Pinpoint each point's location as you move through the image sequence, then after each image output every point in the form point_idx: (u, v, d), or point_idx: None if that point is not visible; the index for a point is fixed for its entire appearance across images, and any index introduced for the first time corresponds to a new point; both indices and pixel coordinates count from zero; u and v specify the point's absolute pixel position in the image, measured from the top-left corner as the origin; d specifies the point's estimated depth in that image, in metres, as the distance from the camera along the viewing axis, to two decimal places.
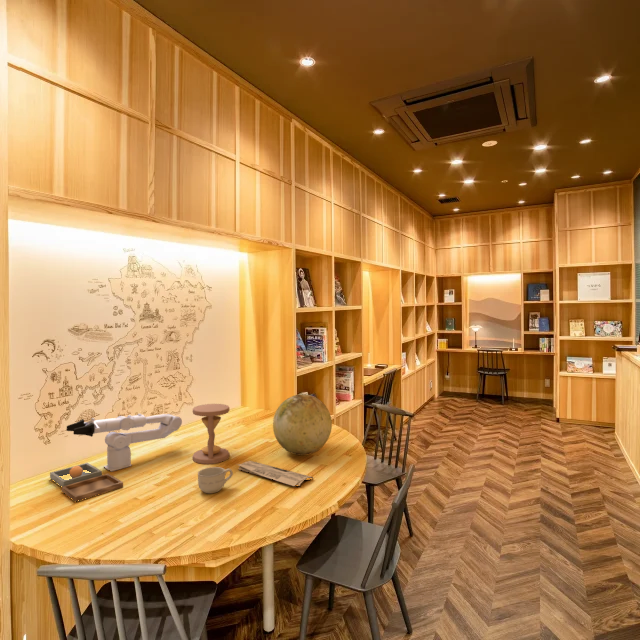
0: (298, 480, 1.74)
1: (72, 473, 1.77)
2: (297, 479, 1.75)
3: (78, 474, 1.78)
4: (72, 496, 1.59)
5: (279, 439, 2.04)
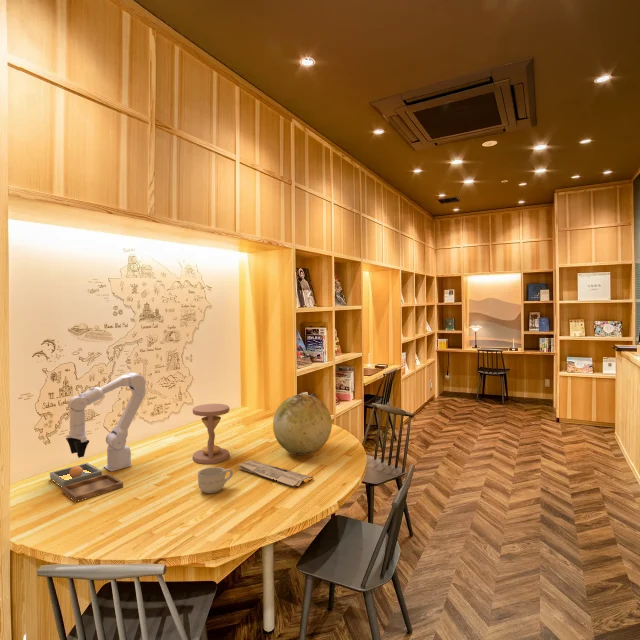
0: (298, 480, 1.74)
1: (72, 473, 1.77)
2: (297, 479, 1.75)
3: (78, 474, 1.78)
4: (72, 496, 1.59)
5: (279, 439, 2.04)
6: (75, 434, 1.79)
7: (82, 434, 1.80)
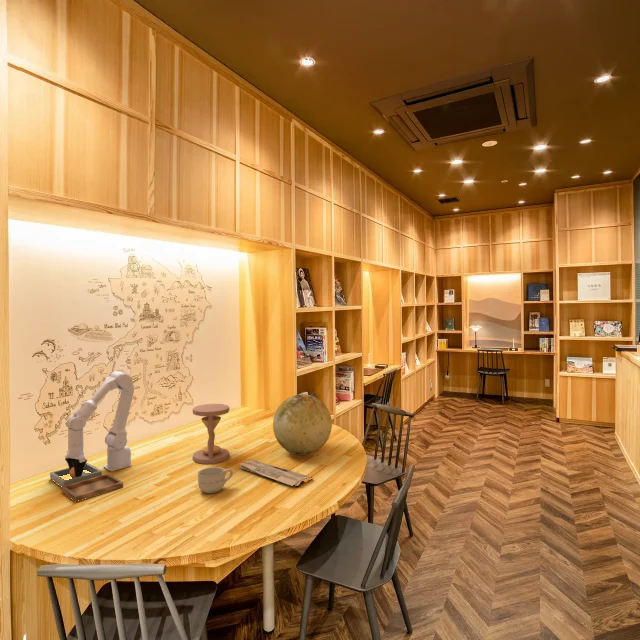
0: (297, 480, 1.74)
1: (72, 473, 1.77)
2: (296, 479, 1.75)
3: None
4: (72, 496, 1.59)
5: (279, 439, 2.04)
6: (73, 454, 1.76)
7: (81, 454, 1.78)
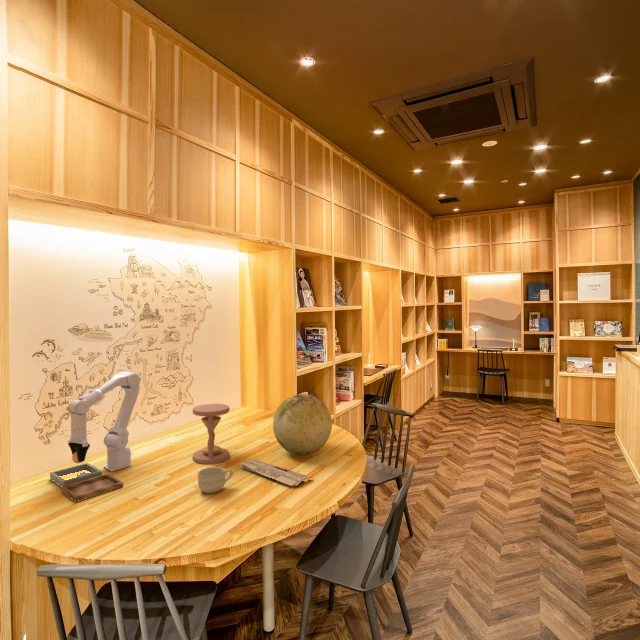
0: (296, 480, 1.74)
1: (75, 458, 1.75)
2: (296, 479, 1.75)
3: None
4: (72, 496, 1.59)
5: (279, 439, 2.04)
6: (76, 439, 1.74)
7: (83, 438, 1.76)
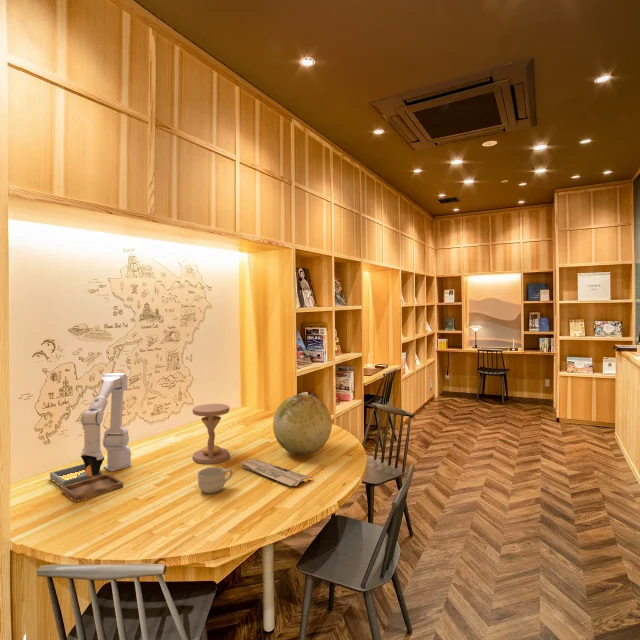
0: (296, 480, 1.74)
1: (88, 471, 1.66)
2: (295, 479, 1.75)
3: None
4: (72, 496, 1.59)
5: (279, 439, 2.04)
6: (90, 451, 1.66)
7: (98, 451, 1.67)
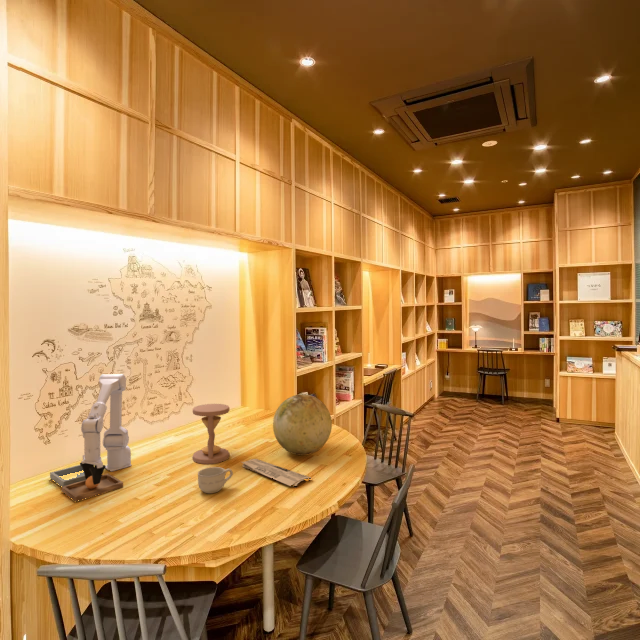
0: (296, 480, 1.74)
1: (88, 483, 1.66)
2: (295, 479, 1.75)
3: None
4: (72, 496, 1.59)
5: (279, 439, 2.04)
6: (90, 459, 1.66)
7: (98, 459, 1.67)
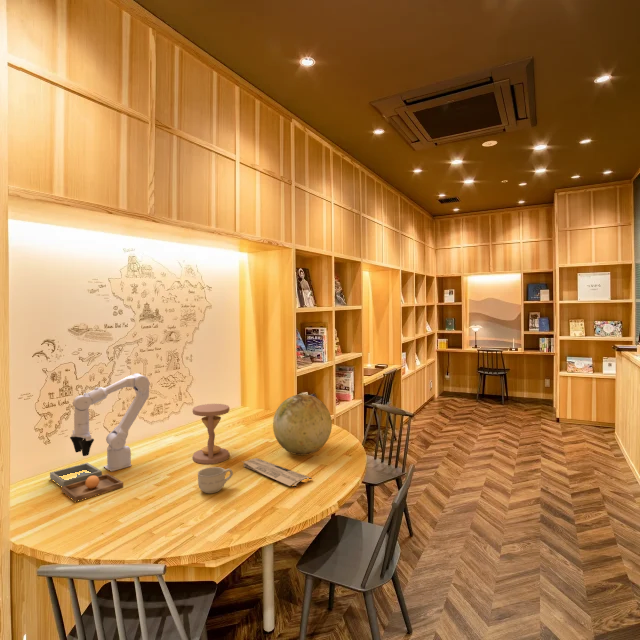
0: (295, 480, 1.74)
1: (88, 483, 1.66)
2: (295, 479, 1.75)
3: (95, 484, 1.67)
4: (72, 496, 1.59)
5: (279, 439, 2.04)
6: (80, 433, 1.81)
7: (86, 433, 1.82)
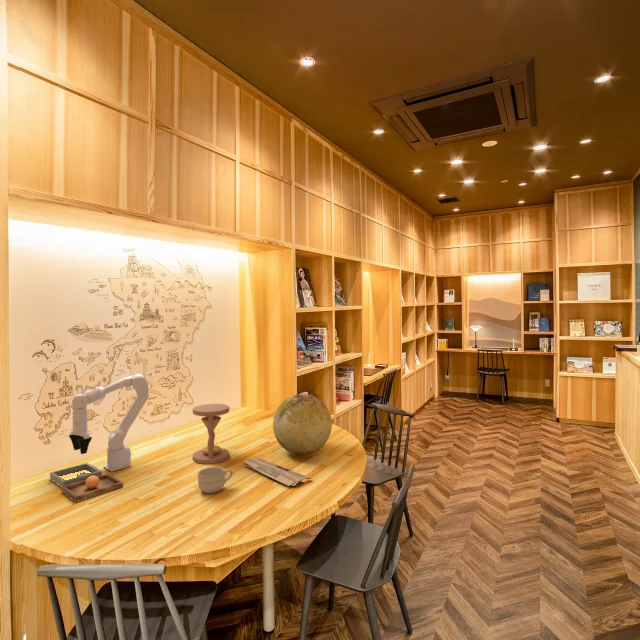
0: (295, 480, 1.74)
1: (88, 483, 1.66)
2: (294, 479, 1.75)
3: (95, 484, 1.67)
4: (72, 496, 1.59)
5: (279, 439, 2.04)
6: (78, 431, 1.83)
7: (85, 431, 1.85)
